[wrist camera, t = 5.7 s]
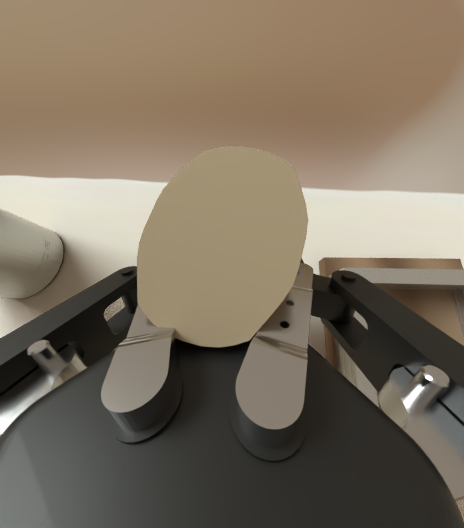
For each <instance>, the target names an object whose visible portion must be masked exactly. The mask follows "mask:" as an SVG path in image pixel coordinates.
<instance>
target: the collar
mask: <svg viewBox="0 0 464 528" xmlns="http://www.w3.org/2000/svg"><path fill="white" fill-rule="evenodd" d="M340 270H346V271H351V272H355V273H357V274H359V275H361V276H362V277H364V278H365V279H367V280H368V281H370V282H371V283H373V284H374V285H375V286H377V287H378V288H380V289H396V290H434V291H451V295H452V298H453V302H454V306H455V310H456V313H457V317H458V321H459V325H460V329H461V332H462V336H463V340H464V270H461V269H395V268H342V269H340ZM331 275H332V274H331ZM331 275H329V277H330V278H331ZM354 317H355V318H356V319H357V320H358V321H359V322H360V323H361V324H362V325H363V326H364V327H365V328H366V329H368V327H367V323H366V321H365V319H364V318H363V317H362V316H361V315H360V314H359V313H358V312H356V311H355V313H354ZM335 344H336V355H337V365H338V371H339V372H340V373H341V374H342V375H343V376H345V377H346V378H347V379H348V380H349V381H350V382H351V383H352V384H353V385H354V386H356V387H357V388H358V389H359V390H360V391H361V392H362V393H363V394H364V395H366V396H367V397H368V398H369V399H370V400H371V401H372V402H373V403H374V404H375V405H377V406H378V407H379V408H380V409H381V410H382V408H381V406H380V403H379V400H378V397H377V390H376V389H375V388H374V387H373V385H372V384H371V383H370V382H369V380H368V379H367V378H366V377H365V375H364V374H363V373H362V372H361V370H360V369H359V368H358V367H357V365H356V364H355V363H354V362H353V360H352V359H351V358H350V357H349V355H348V354H347V353H346V352H345V350H344V349H343V348H342V347H341V345H340V344H339V343H338V342H337V340H336V339H335ZM382 411H383V410H382ZM383 412H384V411H383Z"/></svg>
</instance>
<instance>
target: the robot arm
mask: <svg viewBox="0 0 464 528" xmlns="http://www.w3.org/2000/svg"><path fill="white" fill-rule="evenodd" d="M62 259H63V245H62V241H61V240H60V238H59V236H58V235H57V234H56V233H55V232H53V231H51V230H49V229H46V228H44V227H42V226H39V225H37V224H35V223H32V222H30V221H28V220H25V219H23V218H21V217H18V216H16V215H14V214H12V213H9V212H7V211H5V210H2V209H0V297H1V298H17V299H21V298H26V297H29V296H32V295H34V294H36V293H38V292H39V291H41V290H42V289H44V288H45V287H46V286H47V285H48V284H49V283H50V282H51V281H52V279H53V278H54V277H55V275H56V274H57V272H58V270H59V268H60V266H61V263H62ZM120 297H122V300H123V302H124V304H125V307H124V308H123V309H122V310H121V311H119V312H118V313H117V314H116V315H114V316H113V317H112V318H110V319H109V320H108V321H107V322H106V320H105V318H104V311H105V309H106V308H107V307H108V306H109V305H110V304H112V303H113V302H115V301H116V300H117V299H119V298H120ZM355 311H356V312H358V313H359V314H360V315H361V316H362V317H363V318H364V319H365V321H366V323H367V327H368V329H366V328H365V327H364V326H363V325H362V324H361V323H360V322H359V321H358V320H357V319H356V318H355V317H354V313H355ZM310 315H312V316H316V317H319V318H321V321H322V323H323V324H324V325H325V327H326V328H327V329H328V330H329V332H330V333H331V334H332V335H333V337H334V338H335V339H336V340H337V342H338V343H339V344H340V345H341V347H342V348H343V349H344V350H345V352H346V353H347V354H348V355H349V357H350V358H351V359H352V360H353V362H354V363H355V364H356V365H357V367H358V368H359V369H360V370H361V372H362V373H363V374H364V375H365V377H366V378H367V379H368V380H369V382H370V383H371V384H372V385H373V387H374V388H375V389H376V390H377V392H378V393H379V394H378V399H379V403H380V406H381V408H382V410H383V411H384V412H383V411H382V410H381V409H380V408H379V407H378V406H377V405H375V404H374V403H373V402H372V401H371V400H370V399H369V398H368V397H367V396H366V395H364V394H363V393H362V392H361V391H360V390H359V389H358V388H357V387H356V386H354V385H353V384H352V383H351V382H350V381H349V380H348V379H347V378H346V377H345V376H343V375H342V374H341V373H340V372H339V371H338V370H337V369H336V368H335V367H333V366H332V365H331V364H330V363H329V362H328V361H327V360H326V359H325V358H323V357H322V356H321V355H320V354H319V353H318V352H317V351H316V350H315V349H314V348H312V347H311V346H310V345H309V344H308V337H309V326H310ZM124 339H125V341H123V340H124ZM122 341H123V342H122ZM117 346H118V347H117ZM116 347H117V349H115V348H116ZM114 349H115V350H114ZM113 350H114V351H113ZM0 434H1V436H0V528H464V522H463V519H462V516H461V513H460V511H459V508H458V506H457V504H456V502H455V501H458V500H460V499H463V498H464V346H463V345H462V344H460V343H459V342H457V341H456V340H454V339H453V338H451V337H450V336H449V335H447V334H446V333H444V332H443V331H441V330H440V329H438V328H437V327H435V326H434V325H432V324H431V323H430V322H428V321H427V320H425V319H424V318H422V317H421V316H419V315H418V314H416V313H415V312H413V311H412V310H411V309H409V308H408V307H406V306H405V305H403V304H402V303H400V302H399V301H397V300H396V299H394V298H393V297H392V296H390V295H389V294H387V293H386V292H384V291H383V290H381V289H380V288H378V287H377V286H375V285H374V284H373V283H371V282H370V281H368V280H367V279H365V278H364V277H362V276H361V275H359V274H357V273H355V272H351V271H346V270H338V271H334V272H333V273H332V275H331V278H330V277H324V276H319V275H316V274H313V268H312V267H311V266H309V265H307V264H304V262H303V260H302V258H301V261H300V265H299V269H298V272H297V275H296V278H295V281H294V284H293V286H292V288H291V289H290V291H289V292H288V294H287V295H286V297H285V299H284V300H283V301H282V303H281V304H280V305H279V306H278V308H277V309H276V310H275V311H274V312H273V314H272V315H271V316H270V317H269V318H268V320H267V321H266V322H265V323H264V324H263V325H262V326H261V328H260V329H259V330H258V331H257V332H256V333H255V334H254V336H253V337H252V338H251V339H250V340H249V341H247V342H243V343H240V344H237V345H233V346H226V347H220V348H218V347H206V346H199V345H195V344H191V343H188V342H184V341H181V340H179V339H177V338H176V337H175V328H169V327H157V326H155V325H154V324H153V323H152V322H151V321H150V320H149V319H148V317H147V316H146V315H145V314H144V312H143V311H142V309H141V308H140V306H139V304H138V299H137V267H136V266H132V267H126V268H123V269H120V270H118V271H117V272H115V273H113V274H111V275H110V276H108V277H106V278H104V279H103V280H101V281H99V282H98V283H96V284H94V285H92V286H91V287H89V288H87V289H85V290H84V291H82V292H80V293H78V294H77V295H75V296H73V297H72V298H70V299H68V300H66V301H65V302H63V303H61V304H59V305H58V306H56V307H54V308H52V309H51V310H49V311H47V312H46V313H44V314H42V315H40V316H39V317H37V318H35V319H33V320H32V321H30V322H28V323H26V324H25V325H23V326H21V327H20V328H18V329H16V330H14V331H13V332H11V333H9V334H7V335H6V336H4V337H2V338H0Z"/></svg>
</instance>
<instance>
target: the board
mask: <svg viewBox="0 0 464 528" xmlns="http://www.w3.org/2000/svg"><path fill="white" fill-rule="evenodd" d="M342 268H395V269H461V270H463V267H462V264H461V260H460V259H419V258H323V259H322V260H320V261H319V270H320V276H324V277H329V275H331V274H332V273H333V272H334V271H338V270H340V269H342ZM381 290H383V291H384V292H386V293H387V294H389V295H390V296H392V297H393V298H394V299H396V300H397V301H399V302H400V303H402V304H403V305H405V306H406V307H408V308H409V309H411V310H412V311H413V312H415V313H416V314H418V315H419V316H421V317H422V318H424V319H425V320H427V321H428V322H430V323H431V324H432V325H434V326H435V327H437V328H438V329H440V330H441V331H443V332H444V333H446V334H447V335H449V336H450V337H451V338H453V339H454V340H456V341H457V342H459V343H460V344H462V345H463V346H464V340H463V336H462V332H461V329H460V325H459V321H458V317H457V313H456V310H455V306H454V302H453V298H452V295H451V291H434V290H396V289H381ZM324 330H325V342H326V354H327V361H328V362H329V363H330V364H331V365H332V366H333V367H335V368H336V369H337V370H338V365H337V355H336V344H335V338H334V337H333V335H332V334H331V333H330V332H329V330H328V329H327V328H326V327H325V325H324ZM378 394H379V393H378V392H377V397H378ZM378 400H379V399H378Z"/></svg>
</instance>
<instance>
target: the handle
mask: <svg viewBox="0 0 464 528" xmlns="http://www.w3.org/2000/svg"><path fill="white" fill-rule="evenodd" d="M307 224H308V217H307V209H306V204H305V200H304V196H303V193H302V189H301V186H300V183H299V180H298V176H297V173H296V170H295V168H294V167H293V166H291V165H290V164H289V163H288V162H286V161H285V160H283V159H282V158H280V157H279V156H277V155H274V154H271V153H269V152H267V151H264V150H259V149H255V148H250V147H239V146H227V147H219V148H215V149H210V150H207V151H204V152H201V153H199V154H198V155H197V156H196V157H195V158H194V159H193V160H192V161H191V162H190V163H188V164H187V165H186V166H185V167H184V168H183V169H182V170H181V171H180V172H179V173H178V174H177V175H176V176H175V177H174V178H172V180H171V181H170V182H169V183H168V184H167V186H166V187H165V188H164V189H163V191H162V192H161V194H160V196H159V198H158V199H157V201H156V203H155V206H154V208H153V210H152V212H151V214H150V217H149V219H148V221H147V223H146V225H145V228H144V230H143V233H142V236H141V239H140V242H139V249H138V257H137V299H138V304H139V306H140V308H141V309H142V311H143V312H144V314H145V315H146V316H147V317H148V319H149V320H150V321H151V322H152V323H153V324H154V325H155V326H157V327H169V328H175V337H176V338H177V339H179V340H181V341H184V342H188V343H191V344H195V345H199V346H206V347H218V348H220V347H226V346H233V345H237V344H240V343H243V342H247V341H249V340H250V339H251V338H252V337H253V336H254V334H255V333H256V332H257V331H258V330H259V329H260V328H261V326H262V325H263V324H264V323H265V322H266V321H267V320H268V318H269V317H270V316H271V315H272V314H273V312H274V311H275V310H276V309H277V308H278V306H279V305H280V304H281V303H282V301H283V300H284V299H285V297H286V295H287V294H288V292H289V291H290V289H291V288H292V286H293V284H294V281H295V278H296V275H297V272H298V269H299V265H300V261H301V257H302V252H303V248H304V243H305V239H306V234H307Z"/></svg>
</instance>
